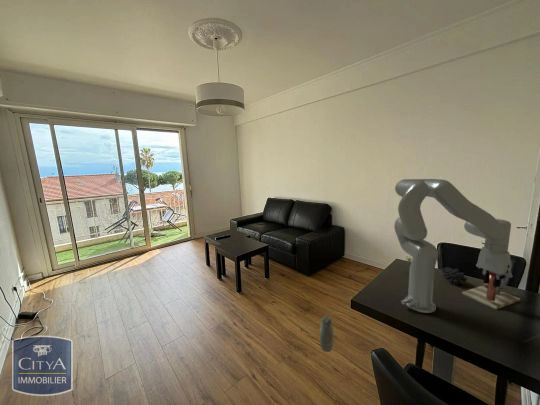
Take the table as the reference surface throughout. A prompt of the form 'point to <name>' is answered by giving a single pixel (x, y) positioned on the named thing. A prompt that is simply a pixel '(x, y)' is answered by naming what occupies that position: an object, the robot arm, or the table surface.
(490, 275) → the lever
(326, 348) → the glass bottle
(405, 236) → the robot arm
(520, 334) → the table surface
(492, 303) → the board
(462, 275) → the fruit
